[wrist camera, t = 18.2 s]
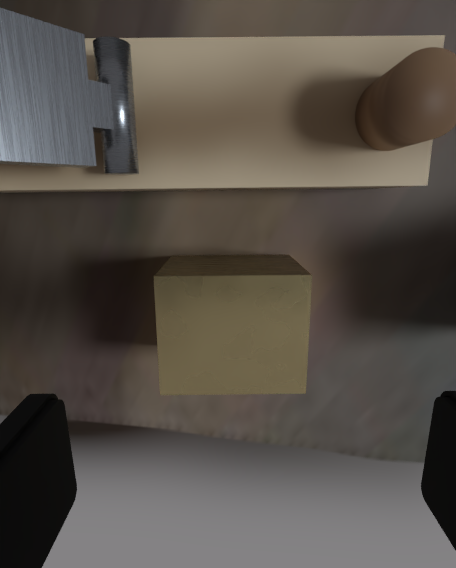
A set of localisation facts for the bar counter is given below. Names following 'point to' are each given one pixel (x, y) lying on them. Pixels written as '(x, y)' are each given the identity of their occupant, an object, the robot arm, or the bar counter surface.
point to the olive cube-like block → (232, 324)
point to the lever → (64, 98)
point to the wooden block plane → (273, 115)
